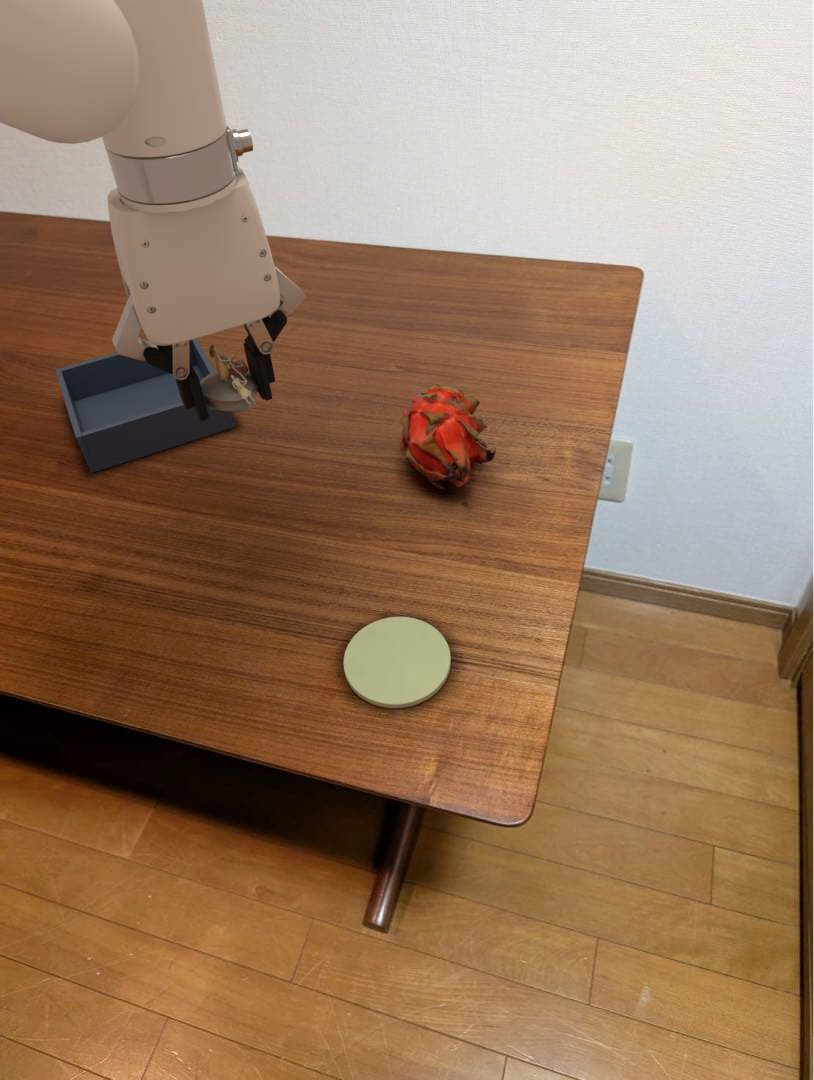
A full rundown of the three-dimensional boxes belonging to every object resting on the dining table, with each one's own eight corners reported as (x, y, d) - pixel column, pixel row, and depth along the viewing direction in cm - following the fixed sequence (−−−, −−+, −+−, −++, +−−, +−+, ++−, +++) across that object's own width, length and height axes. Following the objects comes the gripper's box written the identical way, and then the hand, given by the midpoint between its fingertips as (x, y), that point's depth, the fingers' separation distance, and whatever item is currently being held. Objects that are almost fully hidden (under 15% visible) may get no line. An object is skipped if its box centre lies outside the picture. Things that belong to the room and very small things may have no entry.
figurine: (191, 408, 66) (172, 343, 62) (231, 382, 69) (216, 317, 64) (236, 432, 64) (219, 366, 59) (277, 404, 66) (264, 338, 62)
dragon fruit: (438, 435, 87) (463, 524, 80) (370, 411, 83) (391, 504, 76) (488, 379, 82) (520, 470, 75) (419, 350, 77) (446, 444, 70)
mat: (369, 725, 62) (369, 721, 61) (328, 644, 67) (327, 640, 67) (469, 681, 64) (469, 677, 63) (421, 606, 69) (421, 602, 69)
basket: (91, 473, 84) (75, 437, 80) (69, 404, 92) (54, 369, 89) (235, 427, 88) (226, 391, 84) (202, 365, 96) (192, 330, 93)
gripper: (278, 120, 57) (312, 348, 70) (28, 175, 53) (115, 409, 66) (319, 155, 53) (348, 393, 66) (48, 220, 48) (137, 462, 61)
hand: (230, 399), depth 66 cm, fingers closed on figurine, 4 cm apart
